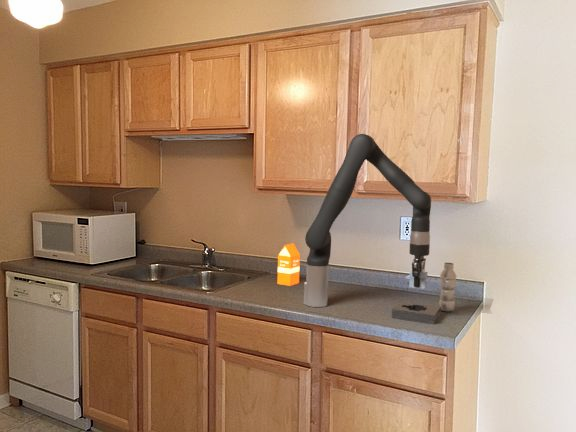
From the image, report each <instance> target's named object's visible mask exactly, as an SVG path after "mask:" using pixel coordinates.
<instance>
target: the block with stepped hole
mask: <svg viewBox="0 0 576 432" xmlns="http://www.w3.org/2000/svg"><path fill="white" fill-rule="evenodd" d="M441 311H442V310H441V307H439V305H430V304H424V303H422V304H421V303H415V302H410V301H409V302H408V301H400V302H399V303H397V304H396V305H395V306H393V308H392V309H391V318H392V319H396V320H404V321H409V322H415V323H416V322H417V323H421V324H423V323H424V324H428V325H435V324H436V321H438V319H439V318H440V317H441V315H442V314H441Z"/></svg>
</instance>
